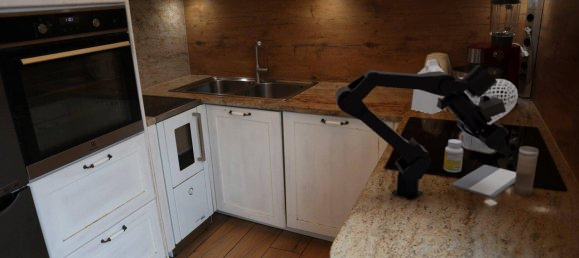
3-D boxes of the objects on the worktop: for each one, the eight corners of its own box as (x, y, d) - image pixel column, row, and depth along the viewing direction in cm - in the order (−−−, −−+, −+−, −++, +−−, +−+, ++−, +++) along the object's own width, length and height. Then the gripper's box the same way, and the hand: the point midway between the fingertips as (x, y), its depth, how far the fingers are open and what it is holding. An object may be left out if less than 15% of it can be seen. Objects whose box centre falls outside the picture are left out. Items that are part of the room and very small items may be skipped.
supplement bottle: (446, 165, 139) (449, 137, 136) (463, 168, 135) (466, 140, 133) (440, 170, 135) (443, 141, 132) (457, 174, 131) (460, 144, 129)
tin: (501, 154, 147) (504, 132, 145) (498, 157, 145) (501, 134, 143) (458, 146, 157) (461, 124, 155) (455, 148, 155) (457, 126, 153)
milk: (424, 108, 213) (428, 57, 206) (445, 112, 205) (450, 59, 198) (410, 112, 206) (414, 60, 199) (431, 117, 198) (435, 62, 190)
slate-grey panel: (493, 198, 115) (493, 196, 114) (451, 185, 123) (451, 183, 123) (523, 176, 129) (523, 174, 128) (484, 166, 137) (484, 164, 137)
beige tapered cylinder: (528, 197, 115) (535, 152, 111) (510, 192, 118) (516, 148, 115) (534, 192, 118) (541, 148, 114) (517, 187, 121) (523, 145, 118)
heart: (510, 128, 177) (517, 77, 171) (514, 139, 163) (522, 83, 157) (440, 123, 187) (445, 74, 181) (439, 132, 173) (443, 80, 167)
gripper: (507, 95, 101) (543, 139, 104) (472, 82, 119) (504, 119, 122) (470, 126, 103) (507, 168, 106) (442, 108, 121) (474, 144, 124)
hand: (498, 148), depth 115 cm, fingers open, 9 cm apart
